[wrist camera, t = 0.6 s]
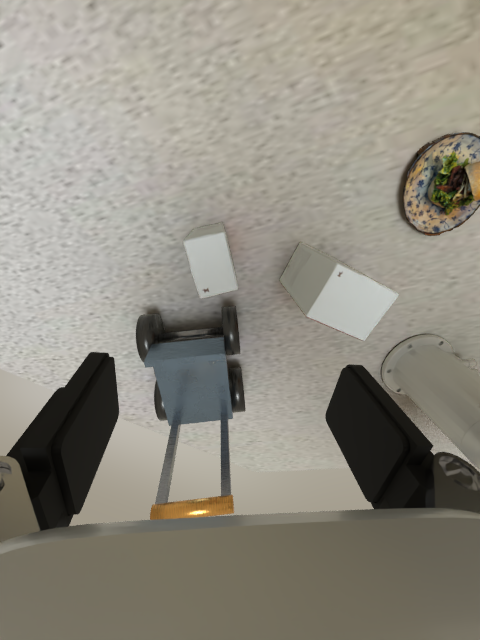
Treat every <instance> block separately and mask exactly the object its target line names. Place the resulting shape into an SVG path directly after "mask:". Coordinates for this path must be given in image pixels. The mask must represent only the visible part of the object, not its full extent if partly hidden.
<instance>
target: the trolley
mask: <svg viewBox="0 0 480 640" xmlns="http://www.w3.org/2000/svg"><path fill="white" fill-rule="evenodd" d="M222 324H223V327H220V328H210V329H200V330H190V331H180V332H170V333H165V330H164V325H163V322H162V319H161V317H160V316H159V314H147V315H141V316H140V317H139V319H138V322H137V326H136V343H137V349H138V353H139V355H140V358H141V360H142V361H143V362H144V364H145V367H153V368H154V371H155V375H156V379H157V380H156V384H155V392H154V402H155V410H156V414H157V417H158V419H159V420H160V421H162V420H168V423H169V426H171V425H172V426H171V430H170V435H169V440H168V445H167V449H166V454H165V459H164V464H163V469H162V473H161V478H160V483H159V488H158V493H157V497H156V502H155V504H153V505H152V508H151V514H150V520H157V519H177V518H196V517H208V516H216V515H224V514H231V513H234V504H233V495H231V480H230V479H231V478H230V453H229V428H228V419H233V413H234V412H243V411H245V400H244V390H243V381H242V372H241V367H239V368H229V378H228V369H227V361H226V355H234V354H240V343H239V332H238V323H237V314H236V306H230V307H222ZM223 335H224V337H218V338H209V339H199V340H189V341H179V342H169V343H166V341H173V340H183V339H193V338H203V337H213V336H223ZM225 351H226V352H225ZM229 382H230V386H229ZM230 394H231V395H230ZM232 411H233V413H232ZM216 420H221V496H218V497H210V498H201V499H193V500H185V501H177V502H168V496H169V490H170V485H171V479H172V472H173V467H174V461H175V455H176V449H177V443H178V438H179V432H180V426H181V424H189V423H198V422H207V421H216ZM167 502H168V503H167Z"/></svg>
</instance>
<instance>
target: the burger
mask: <svg viewBox="0 0 480 640" xmlns="http://www.w3.org/2000/svg"><path fill="white" fill-rule="evenodd" d="M441 137H442V138H441V139H439V138H438V139H439V140H438V139H437V140H438V141H437V142H433V141H432V142H433V143H432V144H429V143H427V144H426V145H425V146H423V147H422V149H421V148H420V149H419V151H417V153H418V155H419V156H418V157H417V159H416V160H415V162H414V163H413V164H412V166H411V168H410V169H409V171H408V175H407V181H406V184H405V187H404V191H403V192H404V193H403V204H404V208H405V214H406V218H407V220H408V221H409V222H410V223H411V224H412V225H413V226H414V227H415V228H416V229H417V230H418V231H419V232H423V233H424V234H425V235H429V236H435V235H440V234H441V233H444V232H446V231H451V230H453V228H456V227H459V226H460V225H462V224H463V223H464V222H465V221H466V220H468V219H469V218H470V217H471V216H472V215H473V214H474V213H475V211H476V210H477V209H478V207H479V206H480V136H477V135H475V134H473V133H468V132H463V133H455V134H448V135H444V136H441Z"/></svg>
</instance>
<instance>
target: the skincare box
mask: <svg viewBox="0 0 480 640" xmlns="http://www.w3.org/2000/svg"><path fill="white" fill-rule="evenodd" d="M183 245H184V248H185V251H186V255H187V258H188V262H189V265H190V270H191V273H192V276H193V279H194V282H195V285H196V288H197V292H198V295H199V298H200V299H203V298H207V297H211V296H215V295H219V294H223V293H227V292H231V291H235V290H238V285H237V279H236V274H235V270H234V265H233V260H232V256H231V252H230V248H229V244H228V240H227V236H226V232H225V228H224V224H223V222H221V223H217V224H212V225H208V226H203V227H199V228H195V229H193V230H192V231H191V233H190V234H189V235H188V236H187V237H186V238H185V239H184V240H183Z"/></svg>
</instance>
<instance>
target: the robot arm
mask: <svg viewBox="0 0 480 640" xmlns="http://www.w3.org/2000/svg"><path fill="white" fill-rule="evenodd" d="M476 365H477V362H476V361H475V360H474V359H466V360H461V359H460V358H458V357H457V356H455V355H454V351H453V348H452V346H451V345H450V343H448V342H447V341H446V340H444V339H443V338H441V337H439V336H436V335H429V334H426V335H419V336H415V337H412V338H410V339H407V340H405V341H404V342H402V343H400V344H399V345H398V346H396V347H395V348H394V349H393V350H392V351H391V352H390V353H389V355H388V356H387V358H386V359H385V361H384V363H383V366H382V379H383V381H384V383H385V384H386V386H387V387H388V388H389V389H390V390H392V391H393V392H395V393H398V394H403V395H408V396H409V397H410V399H411V400H412V401H413V402H414V403H415V404H416V405H417V406H418V407H419V408H420V409H421V410H422V411H423V412H424V413H425V414H426V415H427V416H428V417H429V419H430V420H431V421H432V422H433V423H434V424H435V425H436V426H437V427H438V428H439V429H440V430H441V431H442V432H443V433H444V434H445V435H446V436H447V437H448V439H449V440H450V441H451V442H452V443H453V444H454V445H455V446H456V447H457V448H458V449H459V450H460V451H461V452H462V453H463V454H464V455H465V456H466V457H467V458H468V459H469V460H470V462H471V463H473V464H474V465H475V466H476V467H477V468H479V469H480V372H479V371H478V370H477V369H475V368H473V369H470V368H469V367H475V366H476ZM118 415H119V405H118V394H117V384H116V373H115V363H114V358H113V357H109V354H108V353H98V352H91V353H90V354H89V355H88V356H87V357H86V359H85V360H84V362H83V363H82V364H81V366H80V367H79V368H78V370H77V371H76V372H75V374H74V375H73V376H72V378H71V379H70V381H69V382H68V383H67V385H66V386H65V387H61V388H59V389H58V390H57V391H56V392H55V393H54V394H53V395H52V397H51V398H50V399H49V401H48V402H47V403H46V405H45V406H44V407H43V408H42V410H41V411H40V412H39V414H38V415H37V416H36V418H35V419H34V420H33V422H32V423H31V424H30V425H29V427H28V428H27V429H26V431H25V432H24V433H23V435H22V436H21V437H20V439H19V440H18V441H17V442H16V444H15V445H14V446H13V448H12V449H11V450H10V452H9V453H8V454H7V456H0V640H480V472H479V471H477V470H476V469H475V468H474V467H473V466H472V465H471V464H469V463H468V462H467V461H465V460H463V459H462V458H460V457H458V456H456V455H453V454H451V453H447V452H438V453H436V454H435V455H433V453H432V452H431V451H430V450H431V449H432V447H433V445H432V444H431V443H430V441H429V440H428V439H427V438H426V437H425V436H424V435H423V433H422V432H421V431H420V430H419V429H418V428H417V427H416V426H415V424H414V423H413V422H412V421H411V420H410V419H409V418H408V416H407V415H406V414H405V413H404V412H403V411H402V410H401V408H400V407H399V406H398V405H397V404H396V403H395V402H394V400H393V399H392V398H391V397H390V396H389V395H388V394H387V393H386V391H385V390H384V389H383V388H382V387H381V386H380V385H379V383H378V382H377V381H376V380H375V379H374V378H373V377H372V375H371V374H370V373H369V372H368V371H367V370H366V369H365V368H364V367H363V366H362V365H347V366H346V368H343V369H342V371H341V374H340V377H339V379H338V382H337V385H336V387H335V390H334V393H333V395H332V398H331V401H330V403H329V406H328V409H327V411H326V421H327V424H328V426H329V428H330V430H331V431H332V433H333V435H334V437H335V439H336V441H337V443H338V445H339V447H340V449H341V451H342V453H343V455H344V457H345V459H346V461H347V463H348V465H349V467H350V469H351V471H352V473H353V475H354V477H355V479H356V480H357V482H358V485H359V486H360V488H361V490H362V492H363V494H364V496H365V498H366V499H367V501H369V502H371V504H372V506H373V508H374V509H370V510H345V511H320V512H298V513H278V514H255V515H234V516H215V517H196V518H177V519H157V520H141V521H127V522H113V523H98V524H86V525H77V526H69V524H70V522H71V519H72V517H73V515H74V514H79V513H80V511H81V509H82V507H83V504H84V502H85V499H86V497H87V494H88V492H89V489H90V487H91V484H92V482H93V479H94V477H95V474H96V471H97V469H98V467H99V464H100V462H101V459H102V457H103V454H104V452H105V449H106V447H107V444H108V442H109V439H110V437H111V434H112V432H113V429H114V427H115V424H116V422H117V419H118Z"/></svg>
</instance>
